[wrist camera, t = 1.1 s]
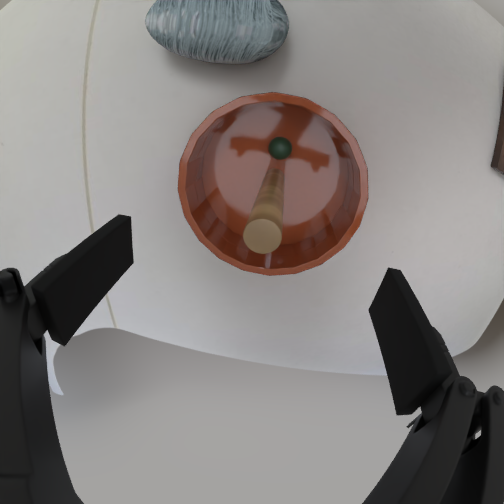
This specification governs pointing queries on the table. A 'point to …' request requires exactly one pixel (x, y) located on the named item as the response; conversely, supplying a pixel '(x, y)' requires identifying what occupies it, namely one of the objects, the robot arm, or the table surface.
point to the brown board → (499, 144)
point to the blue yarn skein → (219, 28)
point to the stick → (266, 214)
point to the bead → (280, 148)
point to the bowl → (252, 174)
